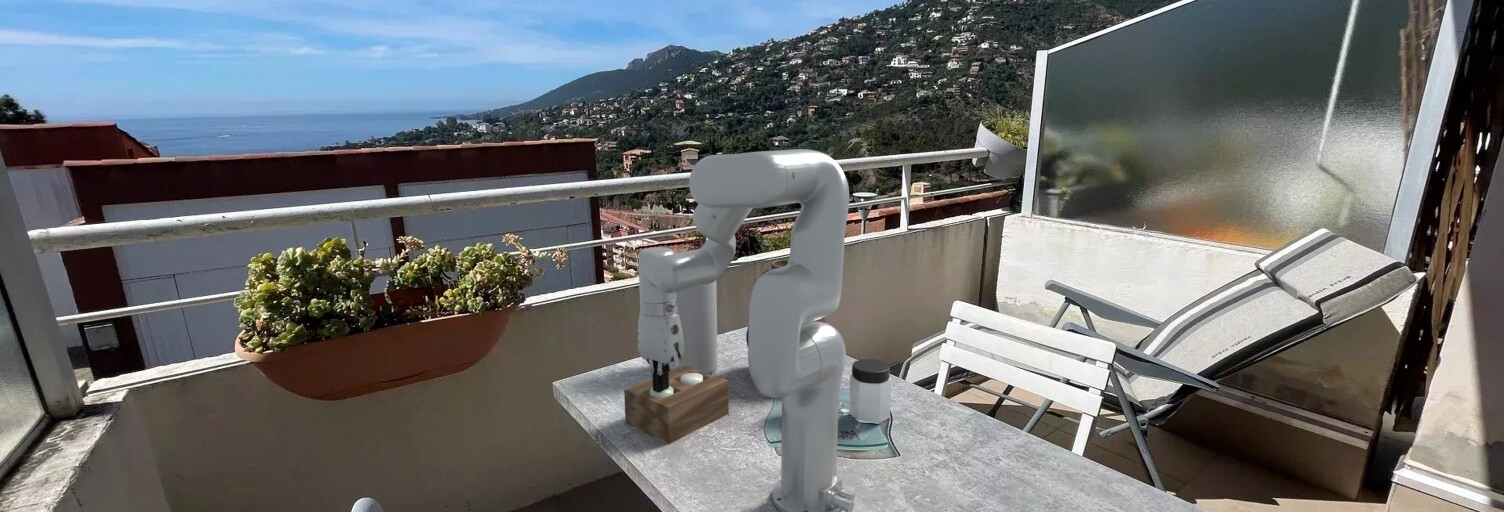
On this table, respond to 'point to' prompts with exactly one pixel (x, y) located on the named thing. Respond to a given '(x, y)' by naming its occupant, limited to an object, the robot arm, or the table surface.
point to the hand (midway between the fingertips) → (661, 389)
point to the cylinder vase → (699, 327)
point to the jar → (870, 390)
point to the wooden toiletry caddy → (677, 405)
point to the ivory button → (691, 378)
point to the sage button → (662, 393)
